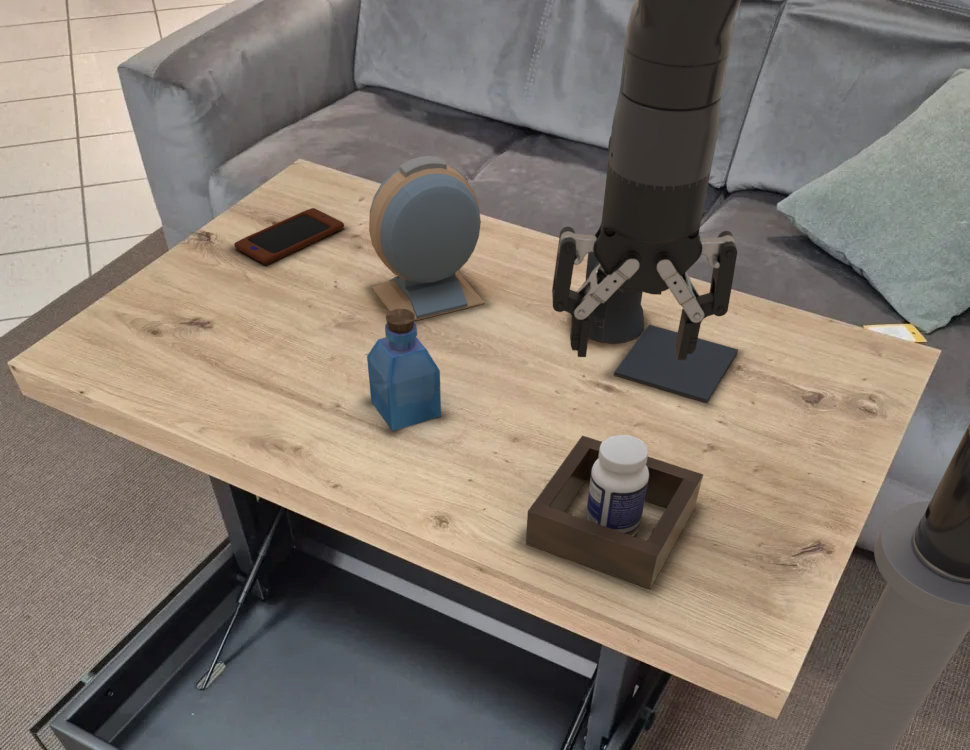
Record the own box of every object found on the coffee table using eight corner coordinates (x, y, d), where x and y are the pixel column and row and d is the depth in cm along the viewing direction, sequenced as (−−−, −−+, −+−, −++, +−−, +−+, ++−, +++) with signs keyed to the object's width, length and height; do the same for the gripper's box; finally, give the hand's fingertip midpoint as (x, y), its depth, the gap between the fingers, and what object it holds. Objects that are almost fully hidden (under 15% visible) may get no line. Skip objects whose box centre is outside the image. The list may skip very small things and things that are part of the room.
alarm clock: (461, 268, 131) (460, 134, 117) (491, 302, 125) (494, 165, 112) (365, 290, 127) (352, 153, 113) (392, 326, 121) (382, 187, 108)
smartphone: (232, 241, 132) (312, 205, 140) (233, 248, 133) (313, 212, 140) (264, 259, 129) (345, 221, 137) (265, 266, 130) (345, 228, 137)
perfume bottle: (392, 431, 107) (385, 338, 98) (371, 402, 111) (362, 309, 102) (441, 416, 109) (438, 323, 100) (418, 388, 113) (414, 296, 104)
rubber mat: (737, 352, 119) (738, 349, 118) (707, 403, 112) (707, 399, 111) (648, 327, 122) (649, 324, 122) (613, 375, 115) (614, 371, 115)
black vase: (596, 297, 126) (606, 215, 118) (656, 319, 123) (671, 236, 115) (550, 338, 120) (556, 254, 111) (612, 362, 117) (623, 277, 108)
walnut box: (695, 506, 100) (703, 474, 96) (650, 589, 92) (657, 556, 89) (578, 468, 104) (582, 435, 100) (525, 543, 96) (527, 511, 93)
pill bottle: (646, 516, 99) (662, 440, 91) (628, 550, 96) (643, 474, 88) (595, 500, 100) (606, 424, 93) (576, 533, 97) (585, 457, 89)
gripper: (564, 179, 66) (549, 377, 78) (766, 184, 66) (719, 381, 78) (561, 134, 71) (547, 327, 83) (750, 139, 71) (708, 331, 83)
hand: (630, 353), depth 81 cm, fingers open, 8 cm apart
